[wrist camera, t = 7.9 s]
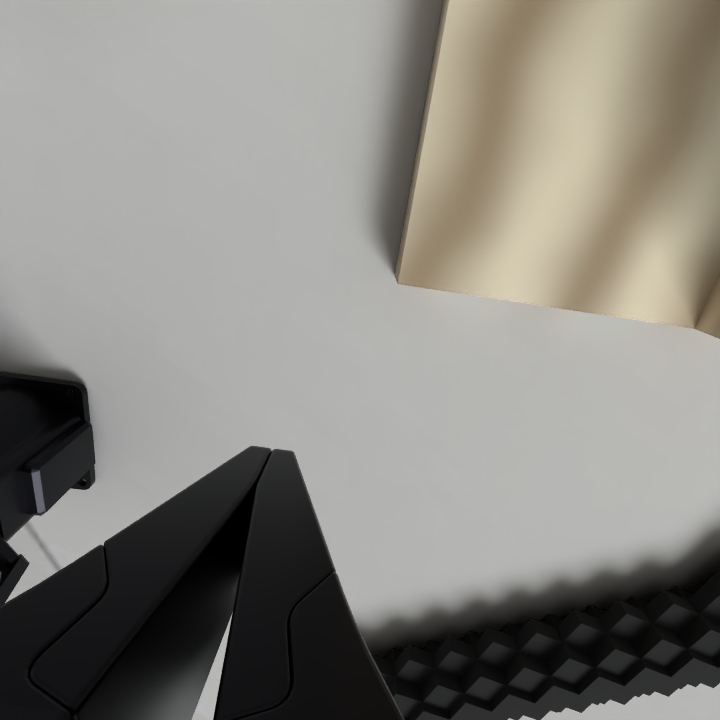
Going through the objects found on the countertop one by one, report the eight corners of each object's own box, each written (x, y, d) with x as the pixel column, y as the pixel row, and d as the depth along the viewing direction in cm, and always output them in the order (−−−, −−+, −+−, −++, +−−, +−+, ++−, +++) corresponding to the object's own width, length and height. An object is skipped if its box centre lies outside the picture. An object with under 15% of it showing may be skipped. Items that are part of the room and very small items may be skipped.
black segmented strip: (930, 611, 28) (1013, 672, 24) (356, 723, 32) (355, 788, 29) (955, 484, 24) (1057, 533, 21) (307, 630, 29) (299, 691, 25)
